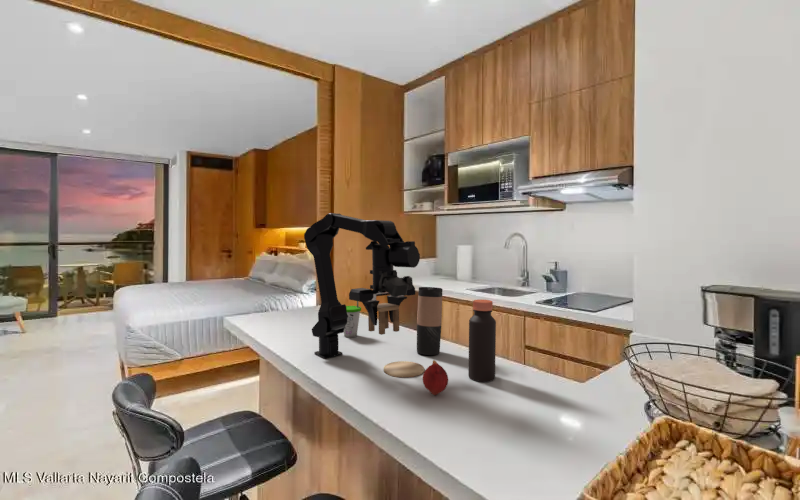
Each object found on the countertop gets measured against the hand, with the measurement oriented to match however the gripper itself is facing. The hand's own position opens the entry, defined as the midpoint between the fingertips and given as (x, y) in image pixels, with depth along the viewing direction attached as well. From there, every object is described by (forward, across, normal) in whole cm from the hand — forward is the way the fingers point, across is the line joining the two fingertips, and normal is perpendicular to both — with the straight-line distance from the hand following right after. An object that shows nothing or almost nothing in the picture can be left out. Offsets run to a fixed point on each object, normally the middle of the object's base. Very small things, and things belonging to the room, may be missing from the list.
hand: (383, 323), depth 107 cm
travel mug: (+13, +19, +3) cm, 23 cm away
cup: (+12, +11, +35) cm, 39 cm away
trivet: (+13, +4, -4) cm, 14 cm away
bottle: (+13, +16, -20) cm, 29 cm away
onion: (+13, -1, -21) cm, 25 cm away
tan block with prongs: (+2, 0, 0) cm, 2 cm away
